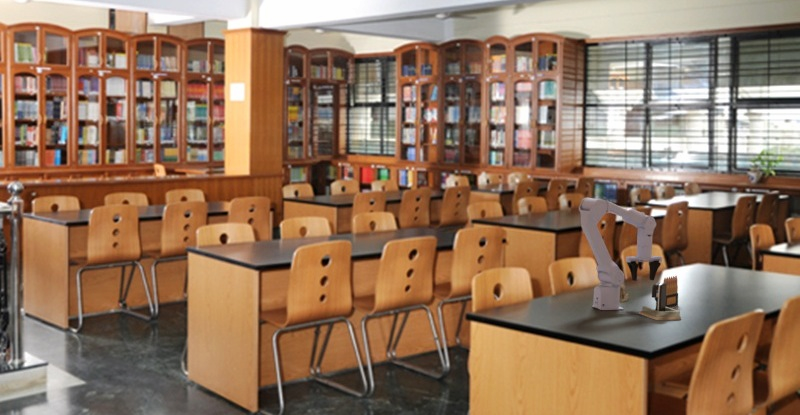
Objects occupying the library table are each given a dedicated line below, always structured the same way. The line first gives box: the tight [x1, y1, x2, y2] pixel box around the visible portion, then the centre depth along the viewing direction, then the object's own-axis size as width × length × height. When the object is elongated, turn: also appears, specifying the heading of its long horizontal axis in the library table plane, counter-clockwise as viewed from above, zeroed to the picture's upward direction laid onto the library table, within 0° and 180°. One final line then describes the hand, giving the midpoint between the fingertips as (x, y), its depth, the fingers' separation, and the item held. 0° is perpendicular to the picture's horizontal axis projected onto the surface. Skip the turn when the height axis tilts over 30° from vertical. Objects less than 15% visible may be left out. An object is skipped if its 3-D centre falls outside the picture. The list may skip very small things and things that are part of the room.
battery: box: [651, 282, 667, 311], centre depth 340 cm, size 7×4×11 cm, turn 147°
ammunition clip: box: [662, 275, 679, 308], centre depth 361 cm, size 11×2×12 cm, turn 136°
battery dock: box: [638, 306, 682, 321], centre depth 340 cm, size 10×12×3 cm
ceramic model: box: [619, 282, 630, 304], centre depth 373 cm, size 14×11×10 cm
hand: (643, 280), depth 359 cm, fingers open, 7 cm apart
